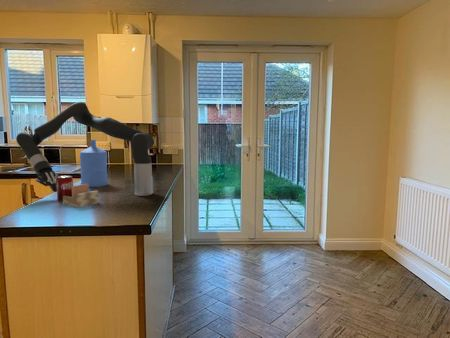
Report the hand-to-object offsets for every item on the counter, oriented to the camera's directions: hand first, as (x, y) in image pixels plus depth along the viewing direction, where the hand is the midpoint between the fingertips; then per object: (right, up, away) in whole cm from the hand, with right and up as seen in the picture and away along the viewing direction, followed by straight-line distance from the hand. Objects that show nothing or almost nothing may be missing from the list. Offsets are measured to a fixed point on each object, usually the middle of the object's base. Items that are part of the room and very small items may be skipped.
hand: (56, 190), depth 164 cm
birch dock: (+15, -6, -8) cm, 18 cm away
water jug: (+3, +1, +40) cm, 40 cm away
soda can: (+6, -5, -2) cm, 8 cm away
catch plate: (+15, -6, -8) cm, 18 cm away
